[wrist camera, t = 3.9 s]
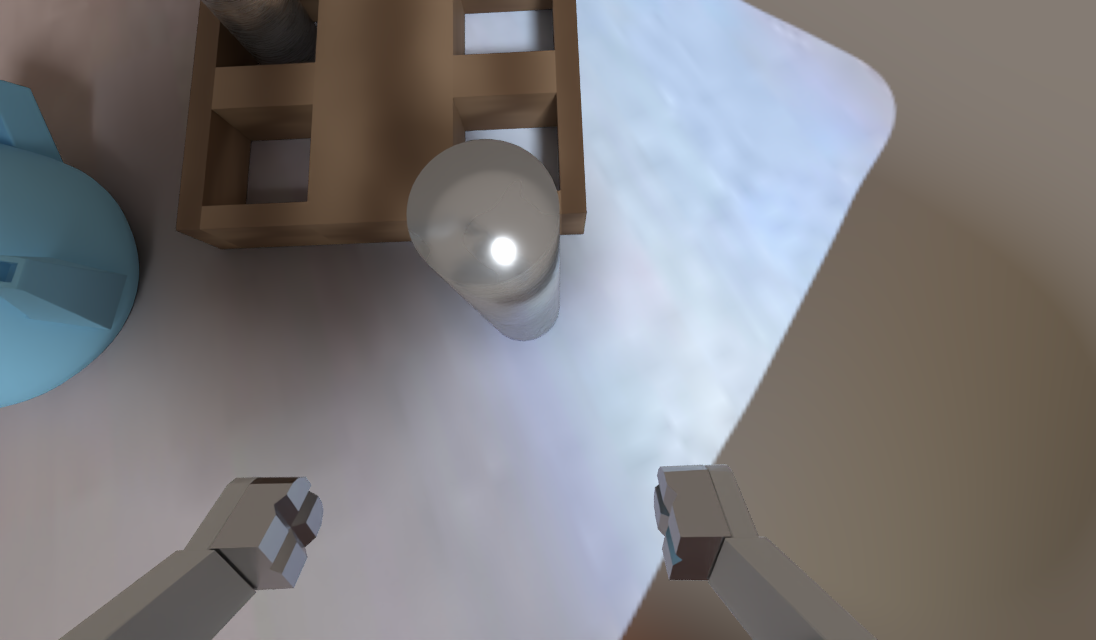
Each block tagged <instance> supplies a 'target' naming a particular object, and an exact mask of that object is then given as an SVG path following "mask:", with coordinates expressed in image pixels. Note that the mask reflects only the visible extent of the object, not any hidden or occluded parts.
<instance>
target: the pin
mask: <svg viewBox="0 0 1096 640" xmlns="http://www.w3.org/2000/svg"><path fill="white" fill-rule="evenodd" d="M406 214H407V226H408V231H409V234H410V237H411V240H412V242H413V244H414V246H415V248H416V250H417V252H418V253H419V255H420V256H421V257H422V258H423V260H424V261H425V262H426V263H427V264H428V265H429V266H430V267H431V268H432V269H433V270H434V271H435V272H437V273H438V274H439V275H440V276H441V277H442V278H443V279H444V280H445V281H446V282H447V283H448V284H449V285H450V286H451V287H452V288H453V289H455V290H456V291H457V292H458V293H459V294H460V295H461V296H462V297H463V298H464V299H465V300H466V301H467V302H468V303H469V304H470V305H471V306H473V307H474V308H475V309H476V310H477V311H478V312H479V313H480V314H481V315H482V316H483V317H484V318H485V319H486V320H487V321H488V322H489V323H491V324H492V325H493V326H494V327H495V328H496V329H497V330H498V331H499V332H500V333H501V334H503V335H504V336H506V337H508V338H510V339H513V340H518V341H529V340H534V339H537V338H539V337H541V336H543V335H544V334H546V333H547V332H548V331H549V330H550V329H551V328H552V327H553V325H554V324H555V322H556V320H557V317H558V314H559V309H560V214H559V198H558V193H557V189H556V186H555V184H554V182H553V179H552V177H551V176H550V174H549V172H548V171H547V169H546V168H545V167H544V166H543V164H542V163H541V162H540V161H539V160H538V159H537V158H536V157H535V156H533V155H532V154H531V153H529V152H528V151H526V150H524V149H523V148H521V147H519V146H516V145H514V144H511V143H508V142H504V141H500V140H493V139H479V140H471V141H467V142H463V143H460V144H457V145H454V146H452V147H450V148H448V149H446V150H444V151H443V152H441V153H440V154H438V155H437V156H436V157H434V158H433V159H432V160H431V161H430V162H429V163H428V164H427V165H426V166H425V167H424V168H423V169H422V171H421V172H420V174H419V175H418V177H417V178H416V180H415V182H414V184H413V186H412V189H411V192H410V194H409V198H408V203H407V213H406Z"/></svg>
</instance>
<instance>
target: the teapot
mask: <svg viewBox="0 0 1096 640" xmlns="http://www.w3.org/2000/svg"><path fill="white" fill-rule="evenodd" d="M138 282H139V259H138V253H137V248H136V244H135V240H134V237H133V234H132V231H131V229H130V227H129V224H128V222H127V219H126V217H125V215H124V213H123V212H122V210H121V208H120V207H119V205H118V204H117V202H116V201H115V200H114V199H113V197H112V196H111V195H110V194H109V193H108V192H107V191H106V190H105V189H104V188H103V187H102V186H101V185H100V184H98V183H97V182H96V181H95V180H94V179H93V178H91V177H90V176H88V175H87V174H85V173H84V172H82V171H80V170H79V169H76V168H74V167H72V166H69V165H67V164H65V163H63V161H62V159H61V157H60V154H59V152H58V150H57V148H56V145H55V143H54V141H53V139H52V136H51V134H50V132H49V130H48V127H47V125H46V123H45V121H44V118H43V116H42V114H41V112H40V109H39V107H38V105H37V103H36V100H35V98H34V96H33V94H32V91H31V89H30V88H27V87H24V86H20V85H17V84H13V83H10V82H6V81H3V80H0V408H1V407H5V406H9V405H13V404H17V403H20V402H23V401H26V400H29V399H32V398H34V397H37V396H39V395H42V394H44V393H46V392H48V391H50V390H52V389H54V388H56V387H57V386H59V385H61V384H62V383H64V382H65V381H67V380H68V379H70V378H71V377H73V376H74V375H76V374H77V373H78V372H80V371H81V370H82V369H84V368H85V367H86V366H87V365H89V364H90V363H91V362H92V361H93V360H94V359H96V358H97V357H98V356H99V355H100V354H101V353H102V352H103V351H104V350H105V349H106V348H107V347H108V346H109V345H110V343H111V342H112V341H113V340H114V338H115V337H116V336H117V334H118V333H119V332H120V330H121V328H122V327H123V325H124V323H125V321H126V320H127V318H128V316H129V313H130V311H131V309H132V306H133V303H134V300H135V297H136V293H137V288H138Z"/></svg>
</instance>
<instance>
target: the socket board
mask: <svg viewBox="0 0 1096 640" xmlns="http://www.w3.org/2000/svg"><path fill="white" fill-rule="evenodd" d="M299 1H300V3H301V4H302V6H303V7H304V9H305V10H306V12H307V13H308V15H309V16H310V18H311V19H312V21H313V22H318V24H317V42H316V59H315V62H313V63H293V64H273V65H257V61H256V59H255V58H254V57H253V56H252V55H251V54H250V53H249V52H248V51H247V50H246V49H245V48H244V46H243V45H242V44H241V43H240V42H239V41H238V40H237V39H236V38H235V37H234V36H233V35H232V33H231V32H230V31H229V30H228V29H227V28H226V27H225V26H224V25H223V24H222V23H221V22H220V20H219V19H218V18H217V17H216V16H215V15H214V14H213V13H212V12H211V11H210V10H209V9H208V7H207V6H206V5H205V4H204V3H203V2H202V1H201V0H200V9H199V18H198V27H197V37H196V46H195V55H194V65H193V74H192V83H191V92H190V102H189V111H188V120H187V130H186V139H185V148H184V157H183V167H182V176H181V185H180V194H179V204H178V213H177V222H176V231H178V232H181V233H183V234H186V235H188V236H191V237H193V238H195V239H198V240H200V241H203V242H205V243H207V244H210V245H212V246H215V247H217V248H220V249H235V248H259V247H283V246H307V245H331V244H355V243H379V242H403V241H412V240H411V237H410V234H409V231H408V226H407V214H406V213H407V203H408V198H409V194H410V192H411V189H412V186H413V184H414V182H415V180H416V178H417V177H418V175H419V174H420V172H421V171H422V169H423V168H424V167H425V166H426V165H427V164H428V163H429V162H430V161H431V160H432V159H433V158H434V157H436V156H437V155H438V154H440V153H441V152H443V151H444V150H446V149H448V148H450V147H452V146H454V145H457V144H460V143H463V142H465V131H472V130H494V129H515V128H536V127H557V138H558V163H559V188H560V191H557V193H558V198H559V214H560V235H571V234H583V233H584V226H585V220H586V213H587V211H586V192H585V172H584V152H583V132H582V112H581V93H580V73H579V53H578V33H577V13H576V0H299ZM546 9H552V14H553V39H554V50H549V51H530V52H510V53H490V54H471V55H465V14H470V13H489V12H508V11H527V10H546ZM302 138H311V145H310V163H309V180H308V197H307V202H286V203H264V204H246V196H247V183H248V171H249V159H250V147H251V141H260V140H281V139H302Z"/></svg>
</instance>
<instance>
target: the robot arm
mask: <svg viewBox="0 0 1096 640" xmlns="http://www.w3.org/2000/svg"><path fill="white" fill-rule="evenodd" d="M657 477H658V482H659V485H657V486H656V487H655V492H654V510H655V517H656V522H657V527H658V530H659V531H660V532H661V533H662V534H663V535H664V536H665V538H664V543H663V547H662V550H663V555H664V559H665V564H666V568H667V573H668V577H669V580H709V581H708V583H709V584H710V586H711V587H712V588H713V590H714V591H715V592H716V593H717V594H718V596H719V597H720V598H721V600H722V601H723V602H724V603H725V605H726V606H727V607H728V609H729V610H730V611H731V612H732V614H733V615H734V616H735V617H736V619H737V620H738V621H739V623H740V624H741V625H742V626H743V628H744V629H745V630H746V632H747V633H748V634H749V635H750V637H751V638H752V639H753V640H877V639H876V638H875V637H874V636H873V635H872V634H871V633H870V632H869V631H868V630H867V629H866V628H864V627H863V626H862V625H861V624H860V623H859V622H858V621H857V620H856V619H855V618H853V617H852V616H851V615H850V614H849V613H848V612H847V611H846V610H845V609H844V608H843V607H841V606H840V605H839V604H838V603H837V602H836V601H835V600H834V599H833V598H832V597H831V596H829V594H828V593H826V592H825V591H824V590H823V589H822V588H821V587H820V586H819V585H818V584H817V583H816V582H815V581H813V580H812V579H811V578H810V577H809V576H807V574H806V573H805V572H804V571H803V570H801V569H800V568H799V567H798V566H797V565H796V564H795V563H794V562H793V561H792V560H790V558H788V557H787V556H786V555H785V554H784V553H783V552H782V551H781V550H780V549H779V548H778V547H776V546H775V545H774V544H773V543H772V542H771V541H770V540H769V539H768V538H767V537H759V535H758V533H757V531H756V528H755V526H754V523H753V521H752V518H751V516H750V514H749V511H748V508H747V506H746V504H745V501H744V499H743V496H742V494H741V491H740V489H739V486H738V484H737V482H736V479H735V477H734V474H733V472H732V470H731V468H730V467H729V466H728V465H724V464H723V465H684V466H662V467H660V468H659V469H658V474H657ZM310 487H311V484H310V482H309V481H308V480H307V478H306V477H250V478H236V479H234V480H233V481H232V482H230V483H229V484H228V485H227V486H226V488H225V489H224V491H223V492H222V494H221V495H220V497H219V498H218V500H217V501H216V503H215V504H214V506H213V507H212V509H211V510H210V512H209V513H208V515H207V516H206V517H205V519H204V520H203V522H202V523H201V525H200V526H199V528H198V529H197V531H196V532H195V534H194V535H193V537H192V538H191V540H190V541H189V543H188V544H187V546H186V547H185V549H184V550H179V551H175V552H174V553H173V554H172V555H170V556H169V557H168V558H166V559H165V560H164V561H162V562H161V563H160V564H158V565H157V566H156V567H154V568H153V569H152V570H150V571H149V572H148V573H146V574H145V575H144V576H142V577H141V578H140V579H138V580H137V581H136V582H134V583H133V584H132V585H130V586H129V587H128V588H126V589H125V590H124V591H122V592H121V593H120V594H118V595H117V596H116V597H114V598H113V599H112V600H110V601H109V602H108V603H107V604H105V605H104V606H103V607H101V608H100V609H99V610H97V611H96V612H95V613H93V614H92V615H91V616H89V617H88V618H87V619H85V620H84V621H83V622H81V623H80V624H79V625H77V626H76V627H75V628H73V629H72V630H71V631H69V632H68V633H67V634H65V635H64V636H63V637H61V638H60V639H59V640H212V639H213V638H214V636H215V635H216V634H217V633H218V632H219V631H220V630H221V629H222V628H223V627H224V626H225V625H226V624H227V623H228V622H229V621H230V619H231V618H232V617H233V616H234V615H235V614H236V613H237V612H238V611H239V610H240V609H241V608H242V607H243V606H244V605H245V604H246V603H247V601H248V600H249V599H250V598H251V597H252V596H253V595H254V594H255V593H256V591H255V590H266V589H286V588H294V586H295V584H296V582H297V580H298V577H299V575H300V573H301V571H302V568H303V566H304V564H305V562H306V559H307V553H306V549H305V547H306V546H307V545H308V544H309V543H310V542H311V541H312V540H314V539H315V538H316V536H317V534H318V531H319V529H320V527H321V524H322V517H323V506H322V502H321V500H320V498H319V497H318V496H317V495H315V494H314V493H312V492H310V491H309V489H310Z"/></svg>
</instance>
